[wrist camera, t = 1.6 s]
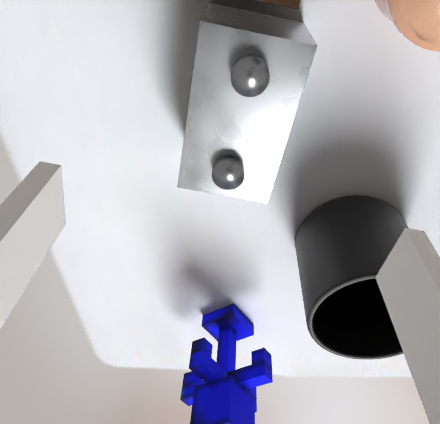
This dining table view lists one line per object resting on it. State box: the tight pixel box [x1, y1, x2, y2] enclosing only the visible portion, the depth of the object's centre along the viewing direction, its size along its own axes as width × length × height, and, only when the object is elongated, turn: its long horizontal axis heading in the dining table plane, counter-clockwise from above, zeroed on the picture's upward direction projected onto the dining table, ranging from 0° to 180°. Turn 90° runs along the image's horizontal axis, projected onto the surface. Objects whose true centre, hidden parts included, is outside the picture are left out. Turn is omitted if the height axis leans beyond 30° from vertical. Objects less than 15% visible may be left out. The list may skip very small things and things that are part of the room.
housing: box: [177, 2, 317, 203], centre depth 24 cm, size 10×6×7 cm, turn 170°
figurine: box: [181, 304, 272, 424], centre depth 37 cm, size 8×8×12 cm
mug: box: [295, 196, 409, 359], centre depth 31 cm, size 9×12×9 cm
